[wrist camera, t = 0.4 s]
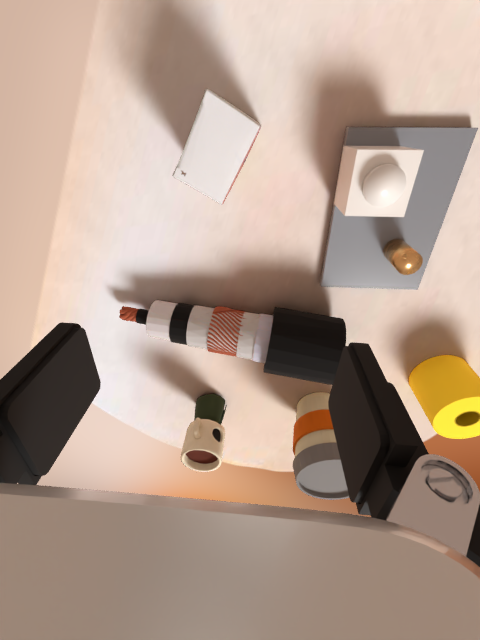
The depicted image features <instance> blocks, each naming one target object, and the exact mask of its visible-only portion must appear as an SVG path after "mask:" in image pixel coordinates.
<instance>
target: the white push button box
mask: <svg viewBox="0 0 480 640" xmlns="http://www.w3.org/2000/svg"><path fill="white" fill-rule="evenodd" d="M423 152H424V150H420V149H414V148H408V147H403V146H344V147H343V153H342V159H341V165H340V171H339V177H338V182H337V188H336V194H335V200H334V204H335V205H336V207H337V208H338V209H339V210H340V211H341V212H342V213H343V215H344V216H373V217H404V215H405V212H406V208H407V205H408V202H409V198H410V195H411V192H412V188H413V185H414V182H415V178H416V175H417V172H418V168H419V165H420V162H421V158H422V155H423Z"/></svg>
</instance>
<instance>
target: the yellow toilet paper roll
mask: <svg viewBox="0 0 480 640" xmlns="http://www.w3.org/2000/svg"><path fill="white" fill-rule="evenodd" d="M409 385H410V387H411V389H412V391H413V392H414V394H415V396H416V398H417V400H418V401H419V403H420V405H421V407H422V408H423V410H424V412H425V414H426V416H427V417H428V419H429V421H430V423H431V425H432V426H433V428H434V430H435V431H436V432H437V433H438V434H439V435H441V436H444V437H447V438H453V439H463V438H470V437H475V436H478V435H480V378H479V376H478V375H477V374H476V373H475V372H474V371H473V369H472V368H471V367H470V366H469V365H468V364H467V362H466V361H465V360H464V359H462V358H460V357H457V356H453V355H441V356H436V357H432V358H430V359H427V360H425V361H423V362H422V363H420V364H419V365H417V366H416V367H415V368H414V369H413V371H412V372H411V374H410V376H409Z"/></svg>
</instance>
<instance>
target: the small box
mask: <svg viewBox="0 0 480 640" xmlns="http://www.w3.org/2000/svg"><path fill="white" fill-rule="evenodd" d="M260 128H261V125H260V124H259V123H258V122H257V121H255V120H254V119H253V118H251V117H250V116H248V115H247V114H245V113H244V112H242V111H241V110H239V109H238V108H236V107H235V106H233V105H232V104H230V103H229V102H227V101H226V100H224V99H223V98H221V97H220V96H218V95H217V94H215V93H214V92H212V91H211V90H209V89H206V90H205V93H204V96H203V99H202V102H201V105H200V108H199V111H198V113H197V116H196V119H195V121H194V124H193V126H192V129H191V132H190V134H189V137H188V139H187V142H186V145H185V147H184V150H183V152H182V155H181V157H180V160H179V162H178V164H177V167H176V169H175V171H174V173H173V177H174V178H176V179H178V180H180V181H181V182H183V183H185V184H186V185H188V186H190V187H192V188H193V189H195V190H197V191H199V192H200V193H202V194H204V195H205V196H207V197H209V198H211V199H212V200H214V201H216V202H217V203H219V204H221V205H222V204H223V203H224V201H225V199H226V197H227V195H228V193H229V192H230V190H231V188H232V186H233V184H234V182H235V180H236V178H237V176H238V174H239V172H240V170H241V168H242V166H243V164H244V162H245V160H246V158H247V156H248V154H249V152H250V150H251V148H252V146H253V143H254V141H255V139H256V137H257V135H258V133H259V130H260Z"/></svg>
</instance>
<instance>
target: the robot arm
mask: <svg viewBox="0 0 480 640" xmlns="http://www.w3.org/2000/svg"><path fill="white" fill-rule="evenodd" d="M99 389H100V379H99V375H98V372H97V369H96V365H95V362H94V358H93V355H92V352H91V348H90V345H89V342H88V338H87V335H86V332H85V330H84V328H81V326H80V325H79V324H75V323H59V324H58V325H57V326H56V327H55V328H54V329H53V330H52V331H51V332H50V333H48V334H47V335H46V336H45V337H44V338H43V339H42V340H41V341H40V342H39V343H38V344H37V345H36V346H35V347H34V348H33V349H32V350H31V351H30V352H29V353H28V354H27V355H26V356H25V357H24V358H23V359H22V360H20V362H18V363H17V364H16V365H15V366H14V367H13V368H12V369H11V370H10V371H9V372H8V373H7V374H6V375H5V376H4V377H3V378H2V379H1V380H0V640H480V493H479V490H478V487H477V485H476V483H475V482H474V480H473V479H472V477H471V476H470V475H469V474H468V473H467V472H466V471H465V470H464V469H463V468H462V467H460V466H459V465H457V464H456V463H455V462H453V461H451V460H449V459H447V458H445V457H442V456H438V455H434V454H433V455H432V454H431V455H430V454H428V452H427V450H426V448H425V446H424V444H423V442H422V440H421V438H420V436H419V434H418V432H417V430H416V428H415V426H414V424H413V422H412V420H411V418H410V416H409V414H408V412H407V410H406V408H405V406H404V404H403V402H402V400H401V398H400V396H399V395H398V393H397V391H396V389H395V387H394V386H393V384H391V383H388V382H387V381H386V379H385V376H384V374H383V372H382V370H381V368H380V366H379V364H378V362H377V360H376V358H375V356H374V354H373V352H372V350H371V348H370V346H369V344H366V343H350V344H349V346H345V347H344V348H343V351H342V354H341V358H340V361H339V365H338V368H337V372H336V375H335V379H334V382H333V386H332V389H331V393H330V396H329V401H328V407H329V412H330V416H331V421H332V425H333V429H334V434H335V438H336V442H337V446H338V451H339V455H340V459H341V463H342V468H343V472H344V476H345V481H346V485H347V489H348V493H349V497H350V500H351V501H352V502H356V505H357V509H358V513H359V514H363V515H371V517H364V516H358V515H352V514H345V513H336V512H327V511H317V510H309V509H299V508H290V507H279V506H269V505H258V504H247V503H236V502H226V501H215V500H204V499H203V500H202V499H192V498H180V497H170V496H158V495H147V494H135V493H124V492H112V491H100V490H87V489H76V488H64V487H51V486H39V485H36V484H37V483H38V481H39V479H40V478H41V476H42V475H46V474H47V473H48V472H49V470H50V468H51V467H52V465H53V464H54V462H55V461H56V459H57V457H58V456H59V454H60V453H61V451H62V449H63V448H64V446H65V444H66V443H67V441H68V440H69V438H70V436H71V435H72V433H73V432H74V430H75V428H76V427H77V425H78V424H79V422H80V420H81V419H82V417H83V416H84V414H85V412H86V411H87V409H88V408H89V406H90V404H91V403H92V401H93V400H94V398H95V396H96V395H97V393H98V391H99ZM17 482H18V484H17Z"/></svg>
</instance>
